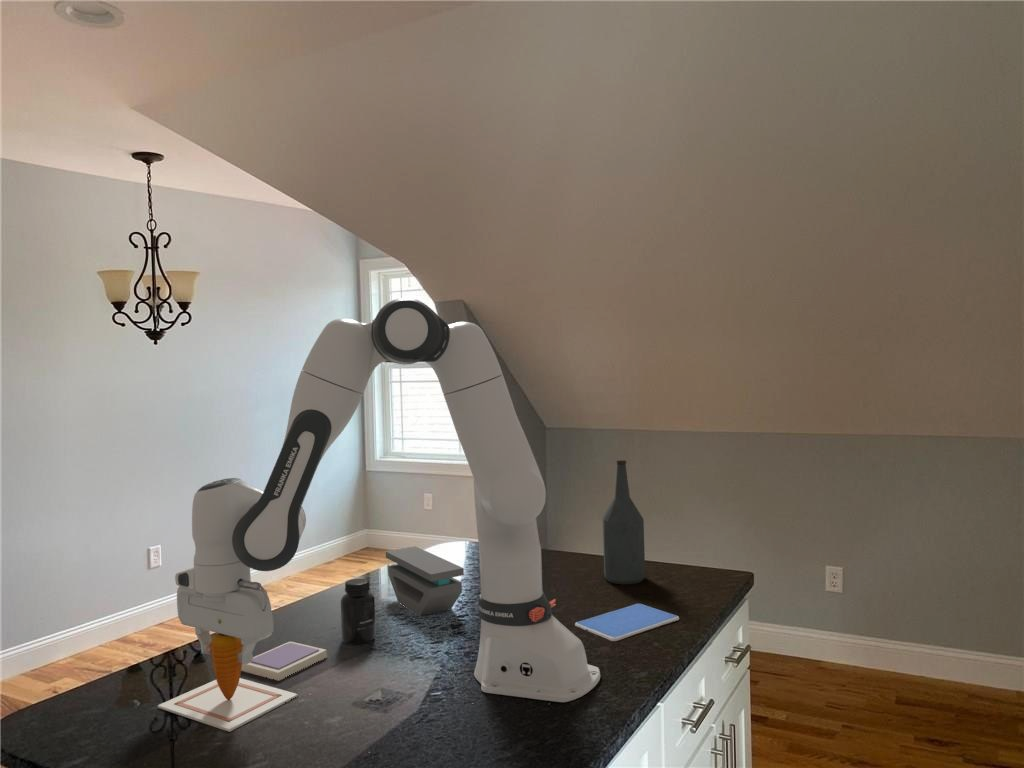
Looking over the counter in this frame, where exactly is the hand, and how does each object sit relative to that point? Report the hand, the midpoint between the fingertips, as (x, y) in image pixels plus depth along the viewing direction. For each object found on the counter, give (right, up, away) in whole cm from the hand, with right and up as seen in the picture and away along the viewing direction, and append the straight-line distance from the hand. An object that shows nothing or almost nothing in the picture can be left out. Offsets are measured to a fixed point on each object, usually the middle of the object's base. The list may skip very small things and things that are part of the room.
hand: (226, 657), depth 130 cm
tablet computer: (+72, -5, +33) cm, 79 cm away
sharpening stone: (+28, -5, +48) cm, 56 cm away
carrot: (0, -7, 0) cm, 7 cm away
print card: (0, -8, 0) cm, 8 cm away
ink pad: (+5, -7, +16) cm, 18 cm away
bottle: (+76, -3, +64) cm, 100 cm away
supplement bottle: (+17, -6, +28) cm, 33 cm away
